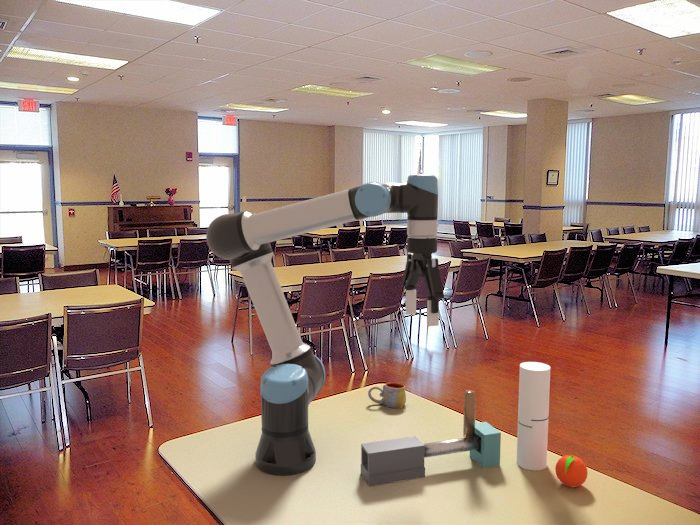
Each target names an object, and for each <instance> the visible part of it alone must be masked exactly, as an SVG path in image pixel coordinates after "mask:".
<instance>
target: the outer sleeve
mask: <svg viewBox="0 0 700 525" xmlns="http://www.w3.org/2000/svg"><path fill="white" fill-rule="evenodd" d="M424 444H425V443H423V442H422V441H421V440H420V439H419V438H418V437H417V436H416V435H415V436H413V435H412V436H407V437H406V436H405V437H400V438H392V439H385V440H379V441H371V442H365V443H364V442H363V443H361V444H360V446H361V447H360V454H361V455H360V456H361V457H360V474H361V476H362V477H363V479H364V481H365V482H366V483H367V485H368V487H373V486H379V485H385V484H391V483H398V482H402V481H409V480H415V479H422V478H425V477H426V467H425V458H424V451H425V445H424Z"/></svg>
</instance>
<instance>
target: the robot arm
mask: <svg viewBox="0 0 700 525" xmlns="http://www.w3.org/2000/svg"><path fill="white" fill-rule="evenodd" d="M438 208H439V182H438V178H437V176H436V175H433V174H410V175H408V177H407V181H406V182H401V183H400V182H377V181H371V182H366V183H363V184H361V185H359V186H356V187H353V188H352V187H351V188H348V189H344V190H340V191H337V192H332V193H328V194H325V195H322V196H318V197H317V196H316V197H314V198H310V199H305V200H303V201H298V202H295V203H290V204H287V205H283V206H280V207H276V208H272V209H268V210H265V211H260V212H258V213H254V212H249V211H240V212H237V213H236V212H234V213H227V214H221V215H220V216H218V217H215V219H213V220H212V221H211V223H210V224H209V225H208V227H207V229H206V230H207V231H206V237H205V238H206V244H207V246H208V248H209V250H210V251H211V252H212V253H213V254H214V255H215V256H217V257H218V258H220V259H222V260H223V259H224V260H229V262H230V265H231V267H232V269H233V270H235V271H237V272H239V273H240V275H241V277H242V279H243V282H244V285H245V287H246V290H247V292H248V294H249V297H250V299H251V302H252V305H253V306H254V307H253V308H254V310H255V312H256V314H257V317H258V319H259V323H260V325H261V327H262V330H263V332H264V334H265V337H266V340H267V342H268V345H269V347H270V349H271V353H272V357H271V360H270V362H269V363H270V365H271V367H269V368H268V369H266V370H265V371H264V372H262V375H261V378H260V385H259V386H260V387H259V392H260V409H261V410H260V412H261V413H260V414H261V415H260V416H261V433H260V438H259V441H258V445H257V448H256V451H255V466H256V467H257V468H258V470H260V471H262V472H263V473H267V474H269V475H277V476H280V475H281V476H287V475H296V474H299V473H302V472H305V471H307V470H308V469H310V468H312V467H313V466H314V465H315V463H316V460H317V455H316V454H317V451H316V448H315V445H314V442H313V438H312V436H311V433H310V431H309V405H310V404H311V403H312V401H313V400H314V399H315V397H316V396H318V394H319V393H320V392H321V390H322V389H323V387H324V384H325V379H326V369H325V365H324V364H323V362H322V360H321V359H320V358H319V357H317V356H316V355H315V354H314V352H313V350H312V348H311V346H310V345H308V344H306V343H305V342H303V340H302V337H301V335H300V332H299V330H298V327H297V325H296V322H295V320H294V317H293V314H292V311H291V309H290V306H289V304H288V301H287V299H286V296H285V294H284V292H283V289H282V286H281V284H280V282H279V279H278V276H277V274H276V272H275V269H274V266H273V263H272V258H273V255H274V250H273V248H272V246H271V243H273V242H276V241H280V240H285V239H288V238H289V239H290V238H292V237H296V236H300V235H304V234H309V233H313V232H317V231H320V230H324V229H327V228H331V227H335V226H339V225H343V224H346V223H347V224H348V223H351V222H355V221H359V220H360V221H361V220H364V219H367V218H374V217H377V216H381V215H383V214H406V215H407V220H406V225H407V226H406V235H407V236H408V238H406V242H407V243H406V250H407V252H408V253H406V254H407V255H406V264H405V267H404V272H403V276H402V282H401V283H402V284H401V285H402V287H404V290H405V315H407V316H408V315H417V289H418V287H417V284H418V281H419V279H420V277H421V278H422V279H423V283H424V285H425V288H426V292H427V295H428V296H427V297H426V300H427V309H426V310H427V311H426V312H427V314H426V315H427V316H426V319H427V320H426V326H427V327H436V326H437V327H438V326H439V323H440V322H439V317H440V314H439V313H440V311H439V310H440V309H439V308H440V300H441V299H444V297H445V294H444V289H443V284H442V278H441V275H440V266H439V259H438V258H437V257H436V258H433V257H432V255H433V254H435V253H437V252H438V238H437V237H436V236H437V235H438V227H439V223H438V217H439V216H438V214H439V213H438V212H439V211H438V210H439V209H438Z"/></svg>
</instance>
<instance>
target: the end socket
mask: <svg viewBox="0 0 700 525" xmlns="http://www.w3.org/2000/svg"><path fill="white" fill-rule="evenodd" d="M501 433H502V432H500V431H499V430H498V429H497V428H495V427H494V426H493V425H491V424H490V423H488V422H487V421H481V422H475V436H479V437H481V449H478V450H471V451H469V456H470V457H471V458H472V460H474V461H475V462H477V463H478V465H479V466H481V468H483V469H486V468H494V467H498V466H499V467H500V465H501V445H502V444H501V443H502V442H501V440H502V439H501V438H502V437H501V436H502V434H501Z"/></svg>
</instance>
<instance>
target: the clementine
mask: <svg viewBox="0 0 700 525" xmlns="http://www.w3.org/2000/svg"><path fill="white" fill-rule="evenodd" d="M554 469H555V475H556V477H557V479H558V480H559V481H560V483H562V484H563V485H564V486H567V487H569V488H578V487H580V486H582V485H583V484H584V483H585V482H586V480H587V478H588V473H589V472H588V468H587V465H586V463H585V462H584V461H583V460H582V459H581V458H580V457H578V456H576V455H574V454H573V455H572V454H567V455H564V456H563V455H562V456H561V457H560V458H559V459H558V460H557V462H556V464H555V468H554Z"/></svg>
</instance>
